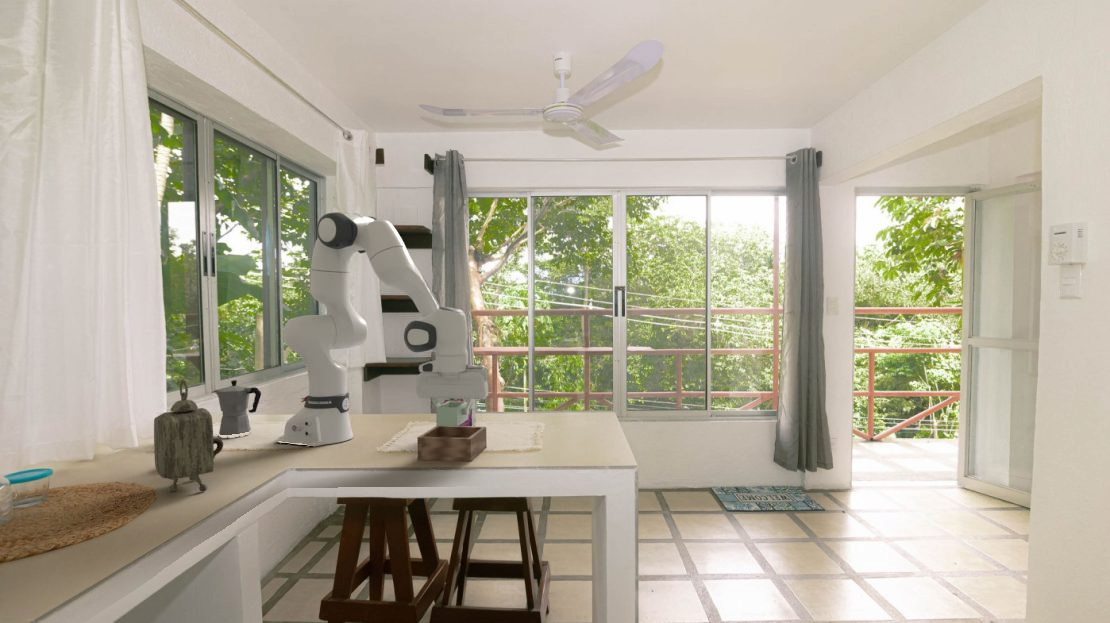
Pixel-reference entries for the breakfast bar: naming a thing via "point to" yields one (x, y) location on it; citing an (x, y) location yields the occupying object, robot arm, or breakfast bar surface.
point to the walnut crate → (452, 443)
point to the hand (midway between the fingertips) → (452, 414)
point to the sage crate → (450, 414)
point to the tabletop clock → (184, 442)
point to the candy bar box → (471, 415)
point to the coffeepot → (236, 408)
